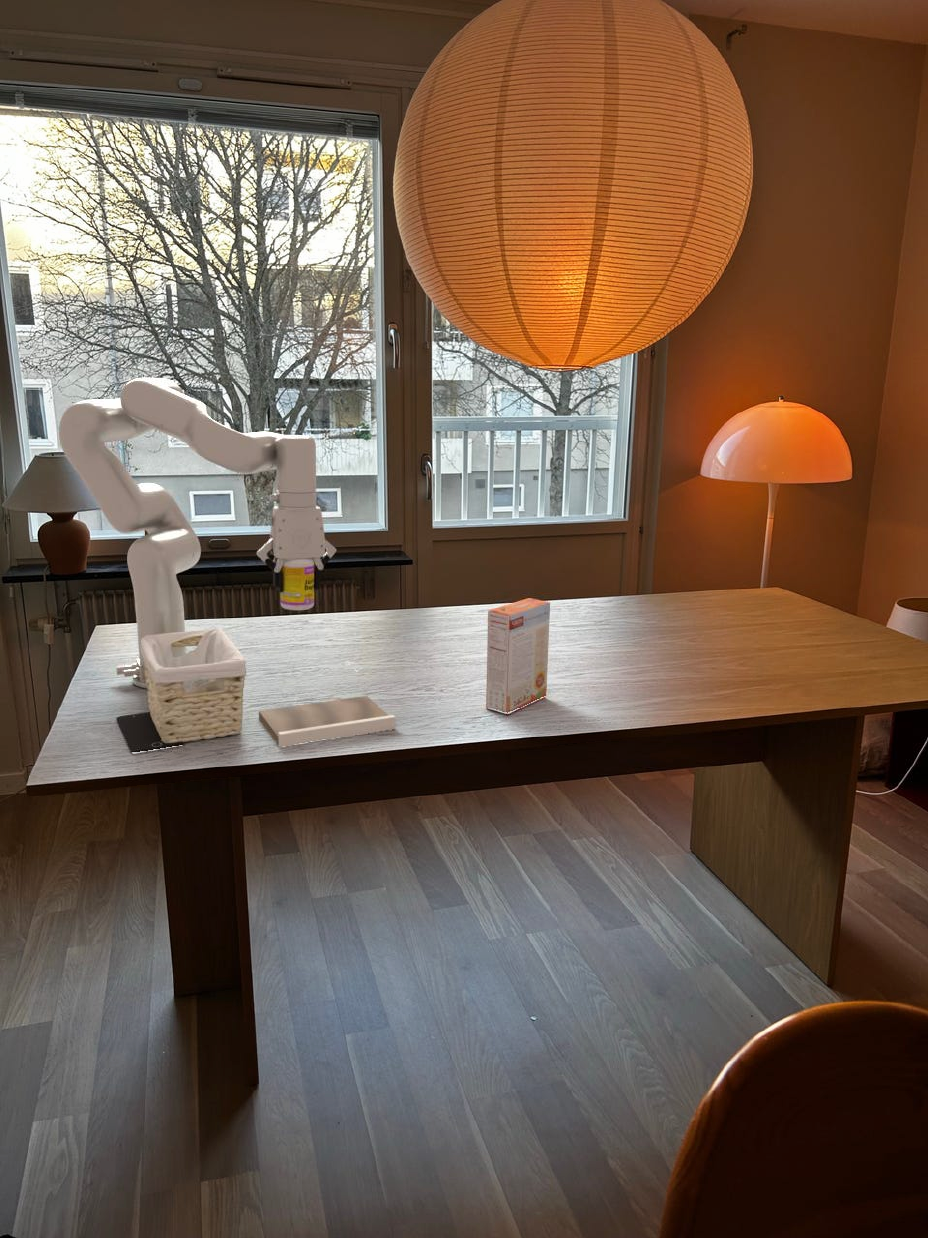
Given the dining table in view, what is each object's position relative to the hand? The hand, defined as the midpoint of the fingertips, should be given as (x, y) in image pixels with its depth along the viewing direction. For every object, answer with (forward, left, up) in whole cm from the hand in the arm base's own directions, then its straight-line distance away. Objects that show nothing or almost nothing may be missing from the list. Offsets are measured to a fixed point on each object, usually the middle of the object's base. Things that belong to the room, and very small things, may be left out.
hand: (297, 588), depth 178 cm
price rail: (0, -24, -23) cm, 33 cm away
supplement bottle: (0, 0, -4) cm, 4 cm away
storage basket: (-22, -5, -23) cm, 32 cm away
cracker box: (+39, -21, -23) cm, 50 cm away
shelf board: (0, -16, -23) cm, 28 cm away
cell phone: (-31, -8, -23) cm, 39 cm away
